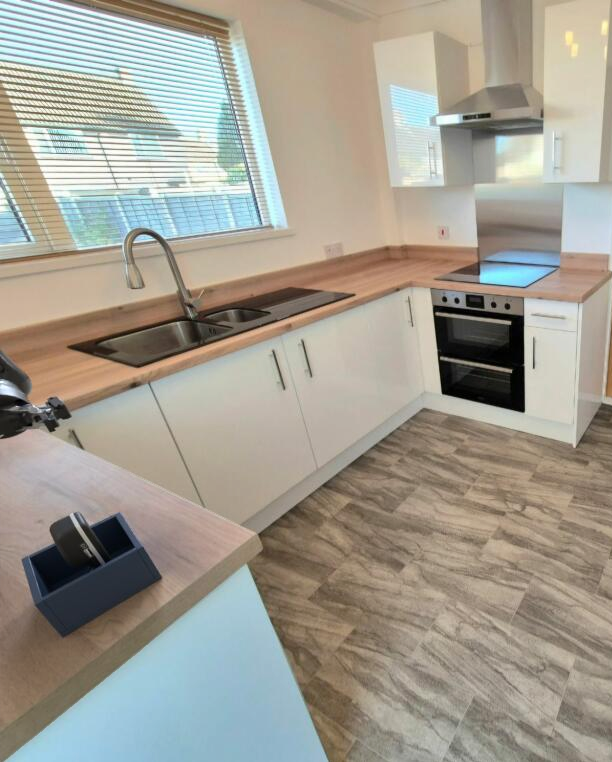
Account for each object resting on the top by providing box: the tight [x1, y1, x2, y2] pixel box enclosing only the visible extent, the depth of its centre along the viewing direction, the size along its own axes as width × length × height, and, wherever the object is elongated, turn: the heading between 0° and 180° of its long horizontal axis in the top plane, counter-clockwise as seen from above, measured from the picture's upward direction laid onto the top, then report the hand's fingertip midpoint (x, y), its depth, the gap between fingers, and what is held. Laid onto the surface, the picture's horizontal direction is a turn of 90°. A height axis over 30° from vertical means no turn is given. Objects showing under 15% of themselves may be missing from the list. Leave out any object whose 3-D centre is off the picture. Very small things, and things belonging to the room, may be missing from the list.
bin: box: [21, 511, 163, 638], centre depth 64 cm, size 12×13×7 cm
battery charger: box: [48, 511, 112, 573], centre depth 63 cm, size 7×4×11 cm, turn 53°
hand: (9, 439), depth 62 cm, fingers open, 8 cm apart
